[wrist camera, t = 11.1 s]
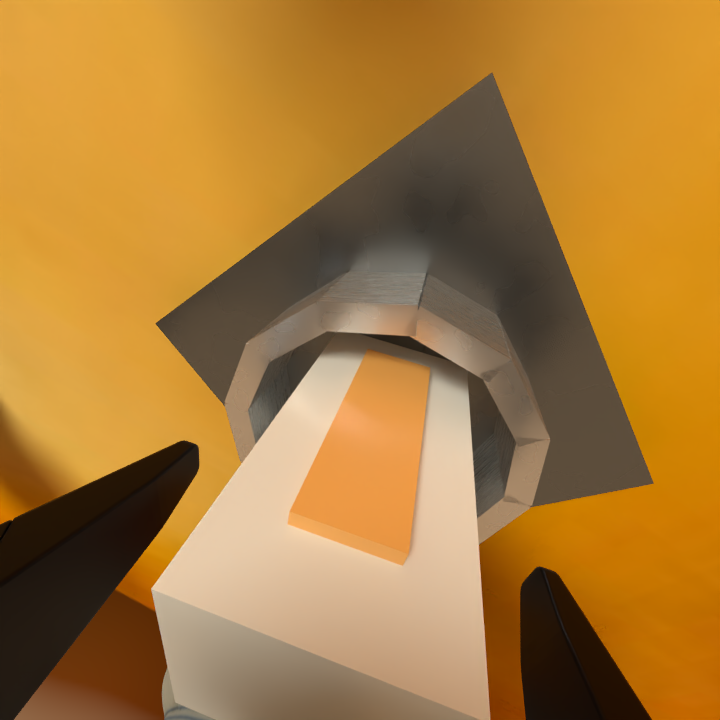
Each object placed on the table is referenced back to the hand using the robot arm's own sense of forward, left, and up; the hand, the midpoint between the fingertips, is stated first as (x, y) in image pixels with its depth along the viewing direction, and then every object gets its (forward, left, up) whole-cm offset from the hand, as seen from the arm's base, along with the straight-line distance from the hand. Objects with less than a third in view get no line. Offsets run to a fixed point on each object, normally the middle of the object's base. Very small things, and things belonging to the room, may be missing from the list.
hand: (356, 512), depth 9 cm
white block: (0, 0, -5) cm, 5 cm away
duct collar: (0, 0, -6) cm, 6 cm away
